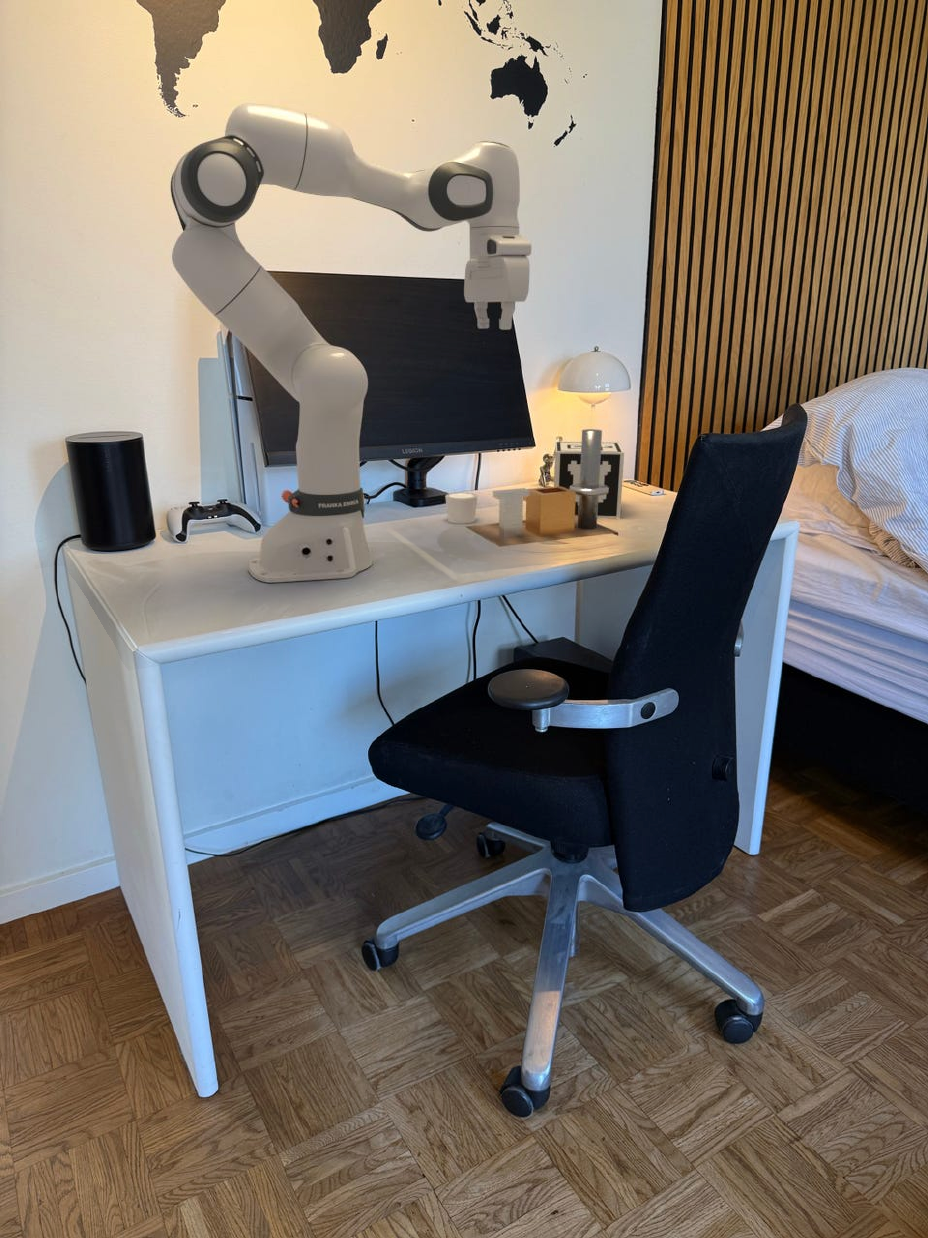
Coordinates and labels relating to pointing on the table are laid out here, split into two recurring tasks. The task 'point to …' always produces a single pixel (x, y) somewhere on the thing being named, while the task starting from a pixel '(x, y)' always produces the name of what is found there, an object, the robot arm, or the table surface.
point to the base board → (527, 537)
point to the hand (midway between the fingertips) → (494, 328)
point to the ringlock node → (569, 495)
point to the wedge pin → (510, 511)
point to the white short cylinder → (461, 507)
